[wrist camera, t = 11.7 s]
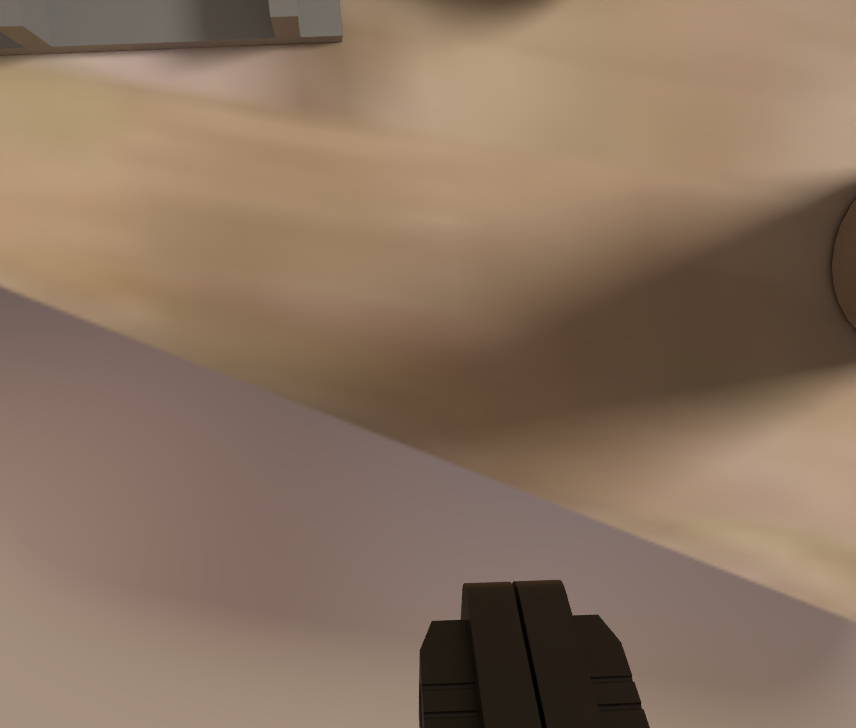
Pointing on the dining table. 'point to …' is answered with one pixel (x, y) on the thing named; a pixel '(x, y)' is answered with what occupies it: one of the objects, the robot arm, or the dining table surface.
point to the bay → (162, 24)
